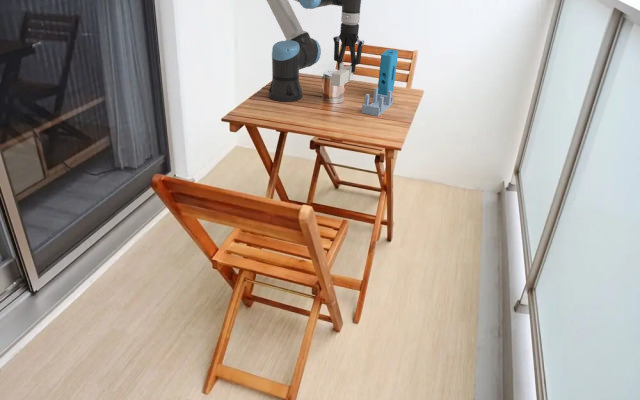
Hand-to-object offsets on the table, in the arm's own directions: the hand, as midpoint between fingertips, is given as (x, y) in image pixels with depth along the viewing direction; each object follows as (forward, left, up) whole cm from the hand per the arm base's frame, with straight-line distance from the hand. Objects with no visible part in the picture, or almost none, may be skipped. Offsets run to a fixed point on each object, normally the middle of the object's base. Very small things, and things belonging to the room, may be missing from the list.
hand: (345, 78), depth 211 cm
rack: (+17, -2, -10) cm, 20 cm away
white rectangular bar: (0, -3, -1) cm, 4 cm away
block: (+14, +15, -10) cm, 23 cm away
